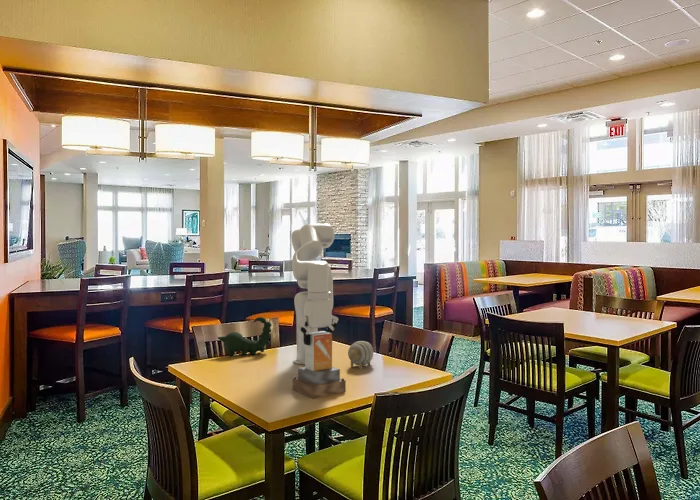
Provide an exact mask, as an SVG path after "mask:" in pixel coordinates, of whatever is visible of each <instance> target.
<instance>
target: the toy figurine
mask: <svg viewBox="0 0 700 500" xmlns="http://www.w3.org/2000/svg"><path fill="white" fill-rule="evenodd" d="M256 322H260V323H262V324H263V327H262V333H261V334H260V337H259V339H257V340H254V339H253V340H250V339H249V338H246V337H244V336H243V334H241V333H239V332H238V331H231V332H229V333H228V334H226V335H225V336H218V337H217V339H218V340H219V341H221V342H222V343H223V345H224V348H225V349H226V350H227V355H228V356H234V354H235V353H236V352H241V354H242V355H243V356H246V355H247V354H248V353H249V354H251V355H252V356H255V355H256V353H257V352H261V353H264V351H265V346H270V345H271V342H270V340H269V339H271V338H272V336H271V335H270V333H271V332H272V329H271V327H272V325H273V324H272V323H271V321H267V320H266V318H265V317H262V316H259V317H256V318H255V319H253V323H256Z"/></svg>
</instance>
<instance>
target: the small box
mask: <svg viewBox="0 0 700 500" xmlns="http://www.w3.org/2000/svg"><path fill="white" fill-rule="evenodd" d="M309 334H310V345H305V364H304V367H305V368H307V369H309V370H312V371H318V370H324V369H331V368H332V367H333V339H332V333H329V332H326V331H325V330H320V331H318V332H311V333H309Z"/></svg>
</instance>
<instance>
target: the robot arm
mask: <svg viewBox="0 0 700 500" xmlns="http://www.w3.org/2000/svg"><path fill="white" fill-rule="evenodd" d="M290 235H291V246H292V247H293V250H294V254H293V256H292V260H291V266H292V267H291V268H292V274H293V275H292V276H293V278H294V279H295V280H296V281H297V284H298V285H297V286H298V287H299V288H301V289H307V291H301V292H298V293H296V294H295V296H294V303H293V304H294V308H295V309H294V310H295V315H296V317H295V318H296V357H294V358H293V360H292V361H293V363H294V364H297V365H305V345H310V334H309V333H311V332H319V331H318V330H319V329H320V328H326V332H329V333H332V340H333V338H334V337H333V336H334V334H333V333H334V331H335V328H336V326H337V324H338V322H339V317H338V316H336V315H333V314H332V313H333V312H332V311H333V308H334V280H333V279H334V278H333V276H334V275H333V272H332V269H331V264H329V263H328V262H327V261H326V260H317V258H318V257H320V256H321V254H322V252H323V249H327V248H330V247H331V246H332V244H333V243H334V240H335V230H334V227H333V226H332V224H330V223H308V224H307V223H306V224H304V225H303V226H301V227H300V229H296V230H293V231H292V233H291V234H290Z"/></svg>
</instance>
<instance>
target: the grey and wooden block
mask: <svg viewBox="0 0 700 500" xmlns="http://www.w3.org/2000/svg"><path fill="white" fill-rule="evenodd" d="M340 377H341V369H340V368H337V367H335V366H332V368H331V369H324V370H318V371H312V370H309V369H307V368H305V366H303V367H298V368H297V376H293V378H292V390H294V391H295V392H298V393H300V394H303V395H304V396H306V397H308V398H310V399H312V400H313V399H318V398H323V397H328V396H331V395H335V394H340V393H344V392H346V391H347V390H346V389H347V388H346V386H347V385H346V384H347V383H346V379H345V378H344V377H343V378H340Z"/></svg>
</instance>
